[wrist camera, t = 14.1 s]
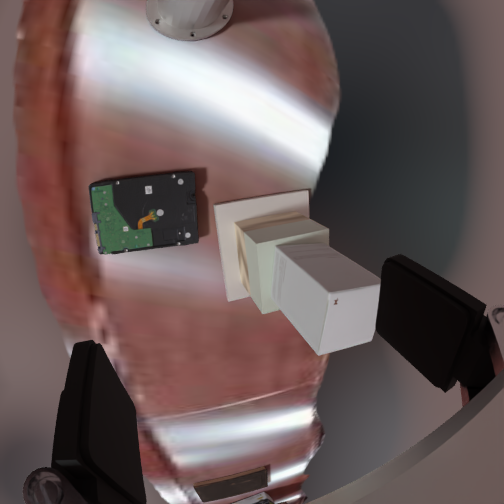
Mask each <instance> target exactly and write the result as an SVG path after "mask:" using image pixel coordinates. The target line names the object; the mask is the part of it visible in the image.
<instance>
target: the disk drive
mask: <svg viewBox="0 0 504 504" xmlns="http://www.w3.org/2000/svg"><path fill="white" fill-rule="evenodd" d="M89 194H90V203H91V210H92V219H93V223H94V229H95V235H96V241H97V246H98V251H99V254H119V253H124V252H132V251H140V250H148V249H155V248H163V247H170V246H178V245H188V244H194V243H198V242H199V237H198V226H197V207H196V197H195V173H194V172H192V171H188V172H173V173H166V174H157V175H149V176H140V177H133V178H124V179H117V180H106V181H102V182H95V183H92V184H90V185H89Z"/></svg>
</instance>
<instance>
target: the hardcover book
mask: <svg viewBox="0 0 504 504" xmlns="http://www.w3.org/2000/svg"><path fill="white" fill-rule="evenodd" d="M193 484H194V489H195V491H196V492H197V494H198V495H199V497H200V499H201V500H202V502H203V503H204V502H209V501H214V500H218V499H223V498H227V497H232V496H236V495H240V494H243V493H247V492H251V491H254V490H258V489H261V488H264V487H268V484H267V469H265V467H264V466H263V467H260V468H256V469H253V470H249V471H246V472H242V473H238V474H234V475H230V476H226V477H222V478H217V479H213V480H208V481H203V482H198V483H193Z"/></svg>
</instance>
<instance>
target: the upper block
mask: <svg viewBox="0 0 504 504" xmlns="http://www.w3.org/2000/svg"><path fill="white" fill-rule="evenodd" d="M244 238H245V247H246V256H247V265H248V275H249V284H250V293H251V298H252V299H253V301H254V302H255V304H256V305H257V306H258V308H259V309H260V311H261V312H262V314H266V313H269V312H273V311H277V310H280V308H279V307H278V306H277V305H276V303H275V302H274V301H273V300H272V299H271V287H272V275H273V264H274V254H275V246H283V245H298V244H314V243H325V244H326V245H328V246H329V229H328V228H326V227H325V226H323V225H321V224H319V223H317V222H315V221H313V220H311V219H309V220H303V221H298V222H293V223H287V224H282V225H277V226H272V227H266V228H261V229H256V230H251V231H246V232H244Z"/></svg>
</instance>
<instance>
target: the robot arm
mask: <svg viewBox="0 0 504 504" xmlns="http://www.w3.org/2000/svg"><path fill="white" fill-rule="evenodd" d="M233 7H234V4H233V0H147V5H146V14H147V17H148V20H149V22H150V23H151V25H152V26H153V27H154V28H155V30H156V31H158V32H159V33H161V34H162V35H164V36H166V37H169V38H171V39H175V40H181V41H195V40H200V39H204V38H207V37H210V36H212V35H214V34H215V33H217V32H218V31H220V30H221V29H222V28H223V27H224V26H225V25H226V24H227V22H228V21H229V20H230V18H231V15H232V13H233ZM223 18H225V19H223ZM156 23H159V24H156ZM190 35H194V37H191V36H190ZM485 308H486V304H484V303H482V302H481V301H480V300H478V299H476V298H475V297H473V296H472V295H470V294H468V293H467V292H465V291H464V290H462V289H460V288H459V287H457V286H455V285H454V284H452V283H450V282H449V281H447V280H445V279H444V278H442V277H440V276H439V275H437V274H435V273H434V272H432V271H430V270H428V269H426V268H425V267H423V266H421V265H420V264H418V263H416V262H414V261H413V260H411V259H409V258H407V257H406V256H404V255H401V254H398V255H395V256H393V257H390V258H387V259H386V260H385V262H384V265H383V266H382V273H381V283H380V293H379V301H378V309H377V317H376V324H375V327H376V331H377V332H378V334H379V335H380V336H381V337H382V338H384V339H385V340H386V341H387V342H388V343H389V344H390V345H391V346H392V347H393V348H394V349H396V350H397V351H398V352H399V353H400V354H401V355H402V356H403V357H404V358H405V359H406V360H408V361H409V362H410V363H411V364H412V365H413V366H414V367H415V368H416V369H417V370H418V371H419V372H420V373H422V374H423V376H425V377H426V378H427V379H428V380H429V381H430V382H431V383H432V384H433V385H434V386H436V387H438V388H441V389H442V390H443V391H444V392H445V393H446V392H447V391H448V390H449V389H451V388H452V387H453V386H455V384H456V382H457V380H458V381H459V382H460V388H461V395H462V405H463V408H462V409H461V410H460V411H458V412H457V413H456V414H455V415H453V416H452V417H451V418H450V419H449V420H447V421H446V422H445V423H443V424H442V425H441V426H440V427H438V428H437V429H436V430H435V431H433V432H432V433H431V434H429V435H428V436H426V437H425V438H424V439H422V440H421V441H419V442H418V443H417V444H415V445H414V446H412V447H411V448H409V449H408V450H406V451H405V452H403V453H402V454H400V455H399V456H397V457H396V458H394V459H393V460H391V461H389V462H387V463H386V464H384V465H382V466H381V467H379V468H377V469H376V470H374V471H372V472H370V473H369V474H367V475H365V476H363V477H361V478H359V479H358V480H356V481H354V482H352V483H350V484H348V485H346V486H344V487H342V488H340V489H338V490H336V491H334V492H331V493H329V494H327V495H325V496H323V497H320V498H318V499H316V500H313V501H311V502H309V503H306V504H504V305H495V306H492V307H491V308H490V309H489V310H488V314H487V317H486V316H484V315H483V314H484V311H485ZM23 498H24V501H25V503H26V504H146V494H145V488H144V482H143V475H142V467H141V459H140V451H139V441H138V431H137V419H136V410H135V406H134V403H133V401H132V400H131V398H130V396H129V395H128V393H127V391H126V390H125V388H124V386H123V384H122V383H121V381H120V379H119V377H118V375H117V374H116V372H115V370H114V368H113V366H112V364H111V362H110V361H109V359H108V357H107V355H106V353H105V351H104V349H103V347H102V345H101V344H100V343H98V344H96V343H95V342H94V341H93V340H88V341H83V342H78V343H75V344H74V346H73V351H72V355H71V359H70V363H69V369H68V373H67V378H66V383H65V388H64V390H63V391H62V393H61V396H60V402H59V407H58V413H57V420H56V427H55V435H54V443H53V453H52V463H51V467H41V468H38V469H36V470H34V471H32V472H31V473H30V474H29V475H28V476H27V478H26V480H25V482H24V484H23Z"/></svg>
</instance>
